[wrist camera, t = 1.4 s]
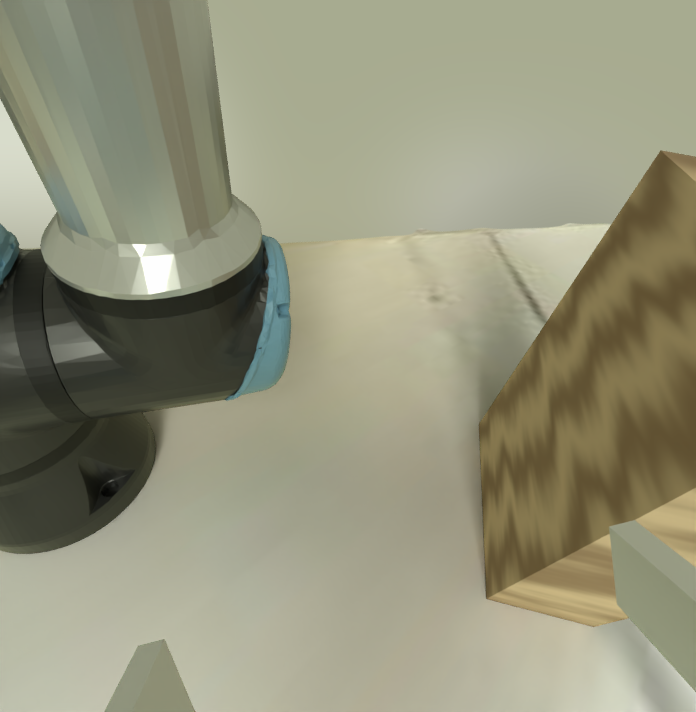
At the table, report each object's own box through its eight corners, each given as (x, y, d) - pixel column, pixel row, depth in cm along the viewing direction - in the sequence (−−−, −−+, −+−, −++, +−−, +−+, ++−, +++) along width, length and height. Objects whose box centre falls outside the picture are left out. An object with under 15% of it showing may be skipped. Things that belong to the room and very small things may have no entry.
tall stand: (593, 626, 31) (1297, 453, 9) (486, 598, 32) (911, 372, 10) (555, 441, 43) (820, 178, 22) (478, 424, 44) (660, 150, 22)
